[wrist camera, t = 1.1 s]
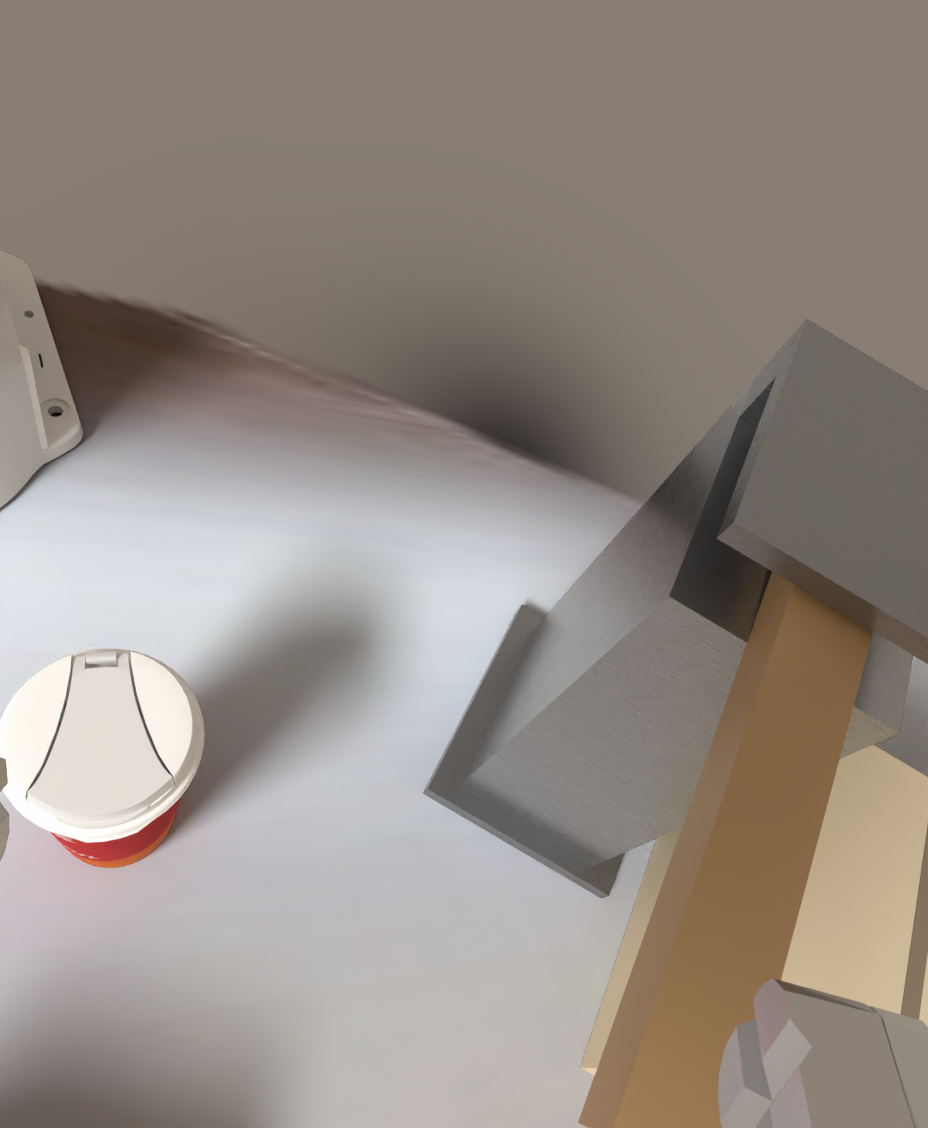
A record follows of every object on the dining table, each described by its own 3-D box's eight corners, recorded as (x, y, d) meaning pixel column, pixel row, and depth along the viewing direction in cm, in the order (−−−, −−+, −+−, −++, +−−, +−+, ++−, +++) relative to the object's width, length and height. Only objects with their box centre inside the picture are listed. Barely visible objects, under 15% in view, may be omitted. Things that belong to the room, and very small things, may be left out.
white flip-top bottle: (37, 747, 45) (-7, 642, 34) (191, 733, 48) (200, 631, 36) (32, 905, 42) (-18, 848, 30) (199, 881, 45) (211, 820, 33)
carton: (775, 1182, 46) (1029, 1236, 32) (579, 1067, 46) (752, 1074, 32) (832, 898, 55) (1050, 848, 41) (668, 801, 54) (833, 720, 41)
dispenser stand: (601, 898, 50) (1021, 750, 26) (423, 793, 50) (673, 543, 26) (671, 702, 58) (1046, 444, 33) (516, 610, 58) (778, 283, 33)
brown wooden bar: (681, 1182, 22) (722, 1200, 20) (578, 1122, 22) (610, 1134, 20) (868, 534, 32) (905, 509, 31) (799, 493, 32) (833, 465, 31)
